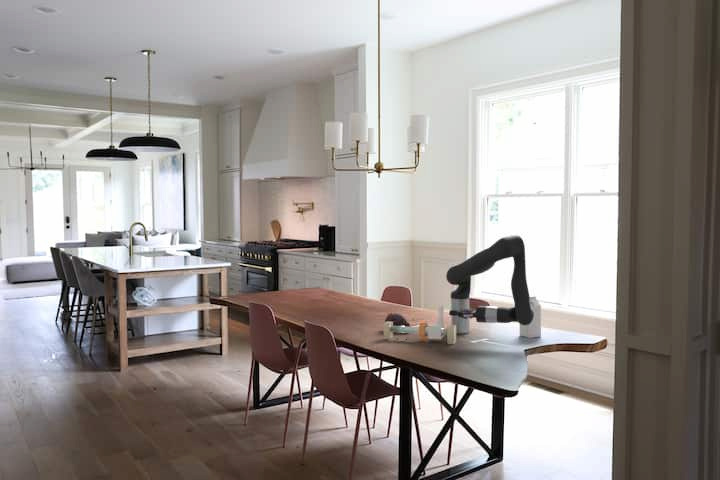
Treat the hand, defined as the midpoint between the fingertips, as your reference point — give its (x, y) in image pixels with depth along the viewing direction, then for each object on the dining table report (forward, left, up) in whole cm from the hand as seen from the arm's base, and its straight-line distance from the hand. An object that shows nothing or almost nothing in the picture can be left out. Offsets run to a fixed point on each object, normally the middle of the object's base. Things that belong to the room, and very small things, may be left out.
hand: (449, 312), depth 267 cm
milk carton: (-27, +31, -14) cm, 44 cm away
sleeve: (+1, -7, -12) cm, 14 cm away
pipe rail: (+1, -15, -14) cm, 20 cm away
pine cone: (-15, -33, -14) cm, 39 cm away
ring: (+1, -13, -13) cm, 18 cm away
